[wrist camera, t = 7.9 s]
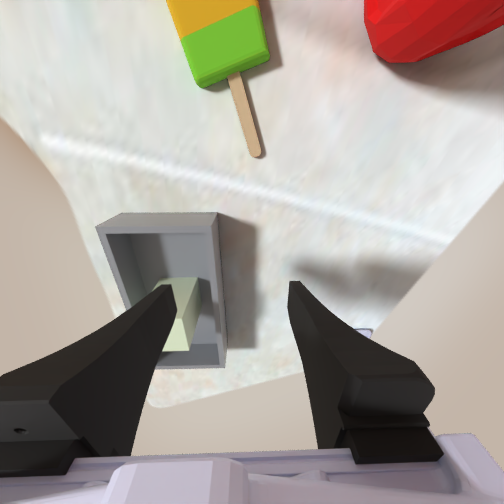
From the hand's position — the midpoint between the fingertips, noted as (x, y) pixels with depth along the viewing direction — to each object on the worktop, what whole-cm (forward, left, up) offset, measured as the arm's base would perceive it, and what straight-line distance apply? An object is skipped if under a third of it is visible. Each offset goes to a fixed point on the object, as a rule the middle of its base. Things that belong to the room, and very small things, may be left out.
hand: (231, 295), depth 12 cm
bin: (-7, +6, -9) cm, 13 cm away
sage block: (-7, +6, -9) cm, 13 cm away
